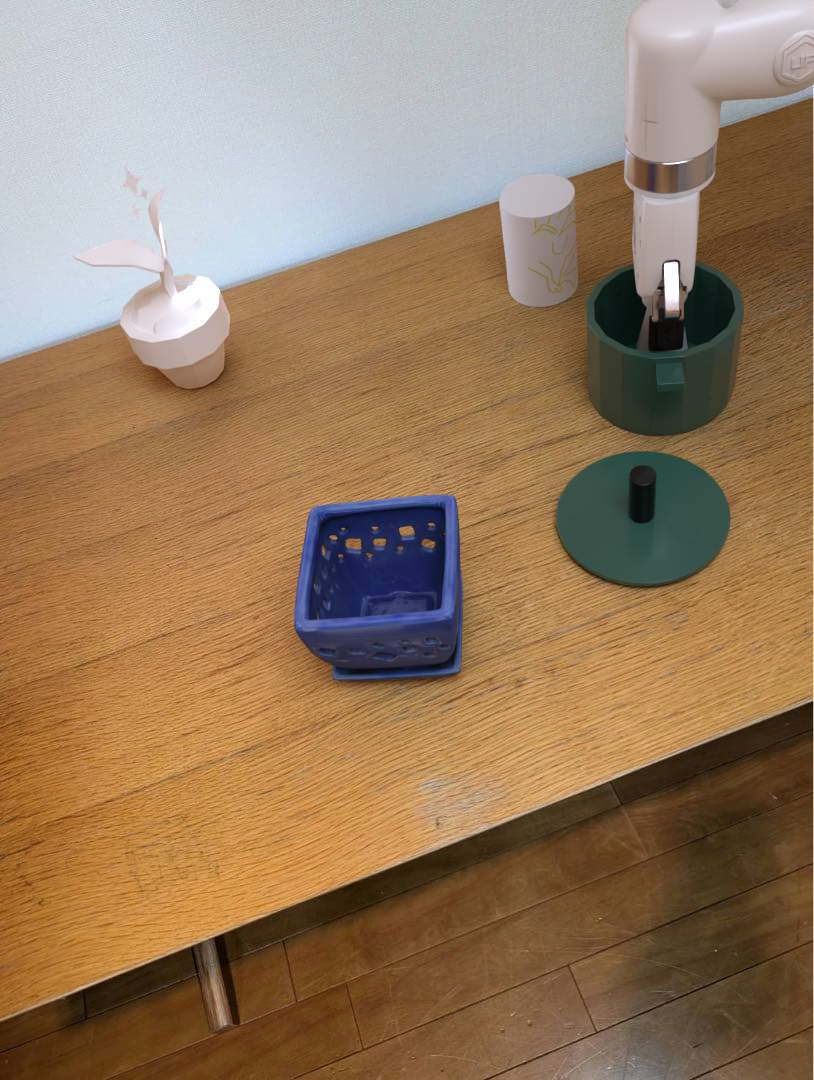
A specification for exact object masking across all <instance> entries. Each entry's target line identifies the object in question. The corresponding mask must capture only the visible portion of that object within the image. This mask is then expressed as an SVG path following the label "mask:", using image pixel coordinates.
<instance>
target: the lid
mask: <svg viewBox="0 0 814 1080" xmlns="http://www.w3.org/2000/svg"><path fill="white" fill-rule="evenodd" d="M728 501H729V500H728V499H727V496H726V494H725V492H724V491H723V489H722V487H721V486H720V484H719V483H718V482H717V480H716V479H715V478H714V477H712V475H710V474H709V473H708V472H707V471H706V470H704V469H703V468H701V467H700V466H698V465H697V464H695V463H694V462H691V461H689V460H688V459H684V458H682V457H680V456H676V455H673V454H670V453H665V452H661V451H660V452H659V451H649V450H640V451H639V450H635V451H626V452H620V453H615V454H612V455H609V456H605V457H603V458H601V459H599V460H596V461H594V462H592V463H590V464H589V465H587V466H586V467H584V468H583V469H581V470H579V472H578V473H576V474H575V475H574V476H573V477H572V478H571V479H570V481H569V482H568V483H567V484H566V485H565V488H564V489H563V491H562V492H561V494H560V496H559V500H558V503H557V506H556V513H555V521H556V530H557V533H558V537H559V539H560V542H561V543H562V546H563V548H564V549H565V551H566V552H567V553H568V555H570V557H571V558H572V559H573V561H575V563H577V564H578V565H579V566H580V567H582V568H583V569H585V570H586V571H588V572H589V573H591V574H592V575H594V576H597V577H599V578H601V579H604V580H607V581H609V582H612V583H617V584H620V585H623V586H624V585H626V586H634V587H654V586H663V585H668V584H672V583H675V582H678V581H681V580H682V581H683V580H684V579H686V578H688V577H691V576H693V575H695V574H697V573H698V572H700V571H702V570H703V569H704V568H705V567H706V566H708V565H710V563H712V561H713V560H714V559H715V558H716V557H717V556H718V555H719V554H720V552H721V550H722V549H723V547H724V546H725V543H726V541H727V539H728V536H729V532H730V525H731V510H730V506H729V502H728Z"/></svg>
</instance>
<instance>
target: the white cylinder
mask: <svg viewBox="0 0 814 1080" xmlns="http://www.w3.org/2000/svg"><path fill="white" fill-rule="evenodd" d="M575 191H576V190H575V186H574V185H573V183H572V182H571V181H570V180H569V179H568V178H566V177H565V176H562V175H559V174H556V173H550V172H538V173H537V172H536V173H530V174H526V175H523V176H520V177H518V178H516V179H514V180H512V181H510V182H509V183H507V184H506V185H505V186H504V187H503V189H502V190H501V191H500V194H499V197H498V202H499V203H498V204H499V212H500V221H501V231H502V240H503V250H504V258H505V259H504V260H505V269H506V277H507V278H506V279H507V287H508V292H509V294H510V297H511V298H512V299H513V300H514V301H515V302H517V303H519V304H521V305H523V306H527V307H531V308H546V307H553V306H555V305H558V304H561V303H563V302H565V301H566V300H568V299H569V298H571V297H572V296H573V295H574V294H575V292H577V289H578V287H579V286H578V285H579V265H578V264H579V263H578V262H579V261H578V240H577V238H578V237H577V217H576V216H577V215H576V214H577V213H576V192H575Z"/></svg>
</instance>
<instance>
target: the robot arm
mask: <svg viewBox="0 0 814 1080" xmlns="http://www.w3.org/2000/svg"><path fill="white" fill-rule="evenodd" d="M813 85H814V0H646V1H645V2H643V3H642V4H640V5H639V6H638V7H637V8H636V9H635V10H634V11H633V13H632V14H631V16H630V17H629V19H628V22H627V24H626V28H625V35H624V116H623V117H624V119H623V120H624V121H623V122H624V123H623V126H624V131H623V134H624V135H623V136H624V141H623V177H624V182H625V184H626V186H628V189H630V190H631V191H633V211H632V212H633V215H632V233H631V239H632V240H631V247H632V259H633V261H632V262H633V263H634V272H635V282H636V290H637V293H638V294H639V296H641V297H642V298H645V297H652V316H649V334H648V349H649V351H651V352H654V351H668V350H680V349H682V348H683V340H684V325H685V313H684V292H685V294H687V293H689V292H690V291H691V289H692V287H693V281H694V272H695V262H696V261H697V260H696V259H697V248H698V235H699V221H700V204H701V191H702V190H705V188H706V187H708V186H709V185H710V184H711V183H712V182H713V179H714V178H715V175H716V166H717V157H718V145H719V134H720V123H721V110H722V102H728V101H741V100H743V101H744V100H762V99H773V98H781V97H786V96H790V95H794V94H797V93H799V92H801V91H805V90H806V89H808V88H810V87H812V86H813ZM661 281H663V285H664V286H663V287H658V285H659V283H660V282H661ZM659 296H664V306H663V307H662V308H660V309H659Z"/></svg>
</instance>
